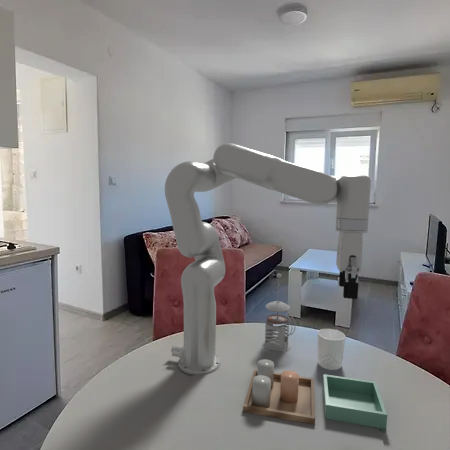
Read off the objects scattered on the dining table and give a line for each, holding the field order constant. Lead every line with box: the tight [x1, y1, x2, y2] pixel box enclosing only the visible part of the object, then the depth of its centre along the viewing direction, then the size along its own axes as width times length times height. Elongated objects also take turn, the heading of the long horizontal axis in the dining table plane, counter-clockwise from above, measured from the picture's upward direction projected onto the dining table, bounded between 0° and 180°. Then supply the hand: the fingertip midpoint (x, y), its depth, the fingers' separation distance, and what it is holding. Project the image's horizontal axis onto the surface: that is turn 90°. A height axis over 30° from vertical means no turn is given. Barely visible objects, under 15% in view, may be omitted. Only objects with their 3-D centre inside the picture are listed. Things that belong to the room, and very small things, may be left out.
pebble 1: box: [256, 358, 275, 388], centre depth 89 cm, size 4×4×6 cm
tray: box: [242, 369, 316, 426], centre depth 85 cm, size 16×16×2 cm
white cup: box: [317, 328, 346, 371], centre depth 101 cm, size 8×8×10 cm
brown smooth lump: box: [280, 370, 300, 403], centre depth 84 cm, size 4×4×6 cm
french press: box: [261, 273, 297, 353], centre depth 111 cm, size 10×12×25 cm
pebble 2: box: [252, 375, 271, 408], centre depth 82 cm, size 4×4×6 cm
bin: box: [322, 373, 388, 432], centre depth 82 cm, size 13×13×4 cm
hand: (347, 292), depth 85 cm, fingers open, 9 cm apart
